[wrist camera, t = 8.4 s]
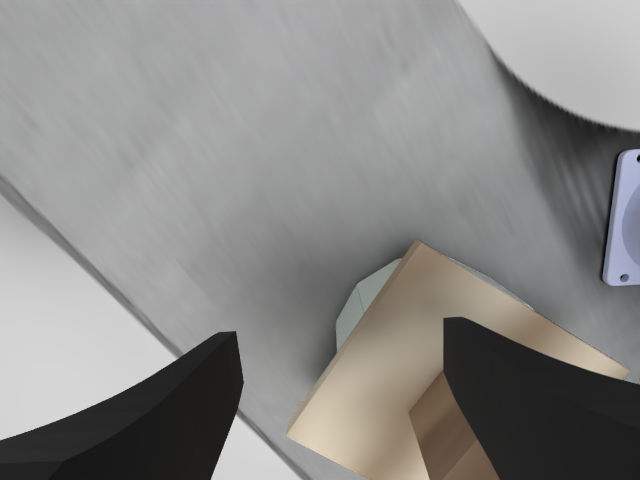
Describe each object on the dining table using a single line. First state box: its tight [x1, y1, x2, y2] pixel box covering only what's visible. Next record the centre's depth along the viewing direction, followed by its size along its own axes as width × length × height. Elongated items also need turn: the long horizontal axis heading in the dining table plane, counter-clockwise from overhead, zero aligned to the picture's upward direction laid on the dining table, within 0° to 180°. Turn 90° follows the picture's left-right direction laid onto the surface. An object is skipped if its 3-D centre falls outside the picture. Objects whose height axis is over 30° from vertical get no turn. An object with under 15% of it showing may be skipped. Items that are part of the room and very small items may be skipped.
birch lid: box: [286, 238, 630, 480], centre depth 15 cm, size 12×12×5 cm
